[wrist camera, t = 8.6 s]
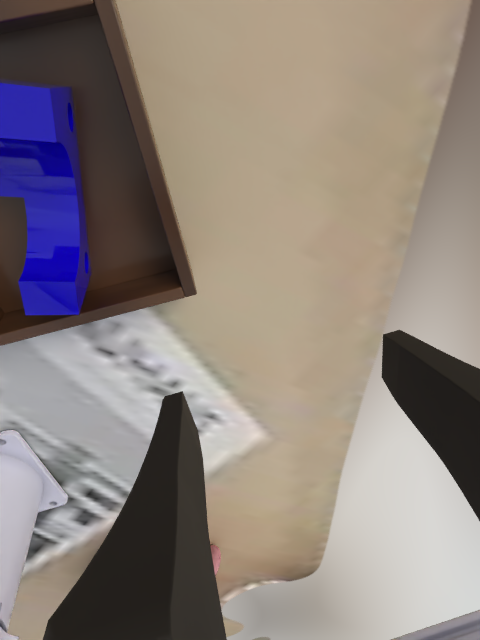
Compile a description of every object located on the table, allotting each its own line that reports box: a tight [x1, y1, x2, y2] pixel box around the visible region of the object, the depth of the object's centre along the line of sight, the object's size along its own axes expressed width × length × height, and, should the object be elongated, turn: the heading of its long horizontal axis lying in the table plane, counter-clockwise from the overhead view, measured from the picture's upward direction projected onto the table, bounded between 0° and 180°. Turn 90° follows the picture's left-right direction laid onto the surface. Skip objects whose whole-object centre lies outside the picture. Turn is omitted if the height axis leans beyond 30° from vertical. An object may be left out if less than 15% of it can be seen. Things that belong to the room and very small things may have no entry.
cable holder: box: [0, 78, 91, 315], centre depth 15 cm, size 8×4×4 cm, turn 173°
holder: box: [0, 0, 197, 346], centre depth 16 cm, size 10×12×3 cm
